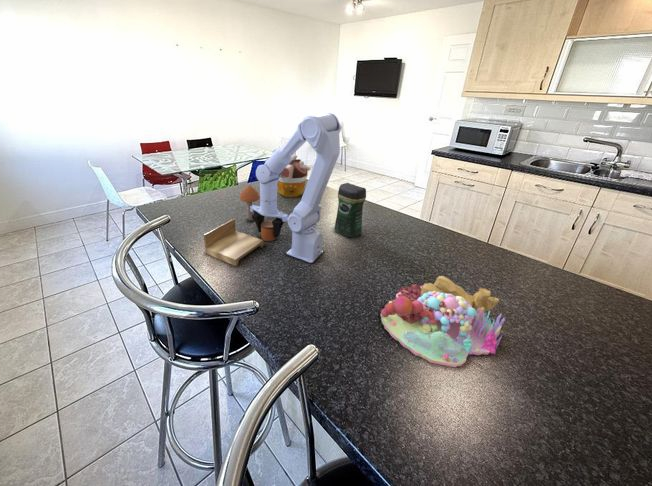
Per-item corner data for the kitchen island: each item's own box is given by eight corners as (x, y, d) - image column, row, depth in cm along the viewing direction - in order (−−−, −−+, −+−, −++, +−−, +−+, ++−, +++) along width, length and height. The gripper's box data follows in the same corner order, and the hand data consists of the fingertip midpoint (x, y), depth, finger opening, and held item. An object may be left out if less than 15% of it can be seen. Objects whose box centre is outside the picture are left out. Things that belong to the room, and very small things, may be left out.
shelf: (263, 246, 100) (263, 228, 97) (235, 266, 89) (234, 246, 86) (234, 235, 106) (233, 218, 103) (205, 253, 95) (203, 234, 92)
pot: (279, 236, 106) (279, 222, 104) (270, 243, 102) (270, 229, 99) (266, 232, 109) (266, 218, 107) (257, 238, 104) (257, 224, 102)
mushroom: (250, 227, 112) (249, 190, 106) (236, 221, 117) (234, 185, 110) (264, 219, 118) (264, 184, 112) (250, 214, 122) (248, 180, 116)
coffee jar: (364, 233, 109) (371, 186, 102) (351, 240, 105) (357, 191, 97) (343, 224, 116) (349, 179, 108) (330, 230, 111) (335, 183, 103)
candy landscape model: (406, 278, 85) (412, 251, 81) (503, 318, 72) (516, 287, 68) (369, 329, 67) (374, 298, 63) (488, 395, 54) (505, 360, 50)
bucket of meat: (315, 193, 146) (318, 153, 138) (295, 203, 134) (297, 160, 126) (284, 184, 157) (285, 147, 149) (263, 192, 146) (263, 153, 137)
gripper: (293, 199, 99) (291, 235, 104) (258, 190, 106) (259, 224, 111) (281, 206, 93) (281, 243, 99) (246, 196, 100) (247, 231, 106)
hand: (268, 234), depth 105 cm, fingers open, 6 cm apart
